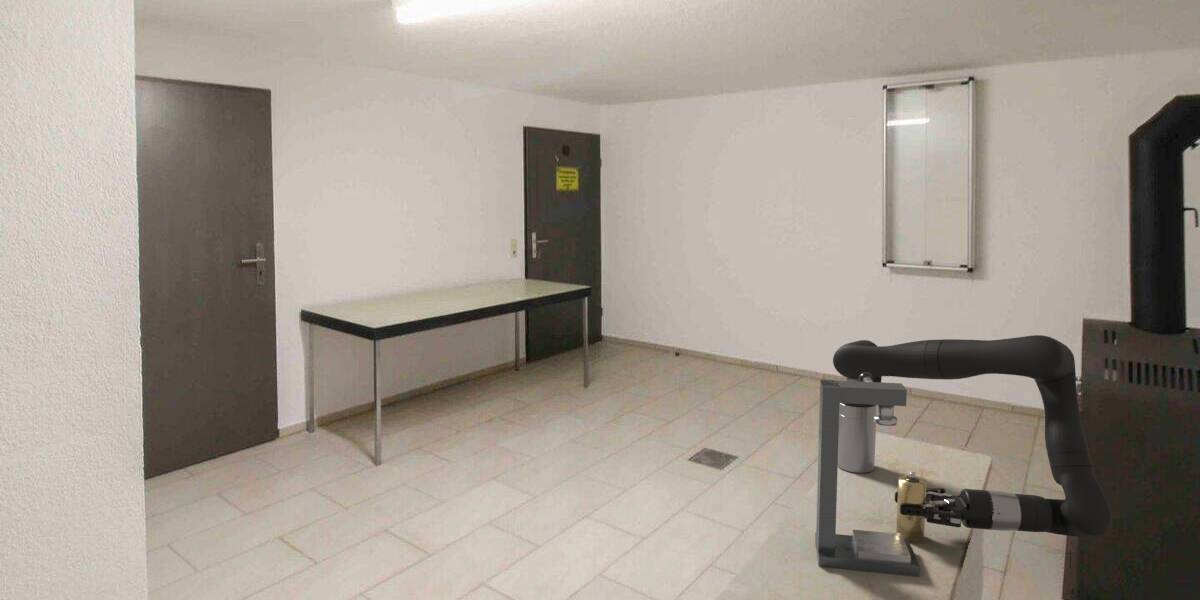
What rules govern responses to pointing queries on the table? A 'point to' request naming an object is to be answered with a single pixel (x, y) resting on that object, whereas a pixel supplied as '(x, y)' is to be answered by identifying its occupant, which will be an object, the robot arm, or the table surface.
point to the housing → (914, 493)
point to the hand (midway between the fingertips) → (898, 502)
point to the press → (833, 548)
